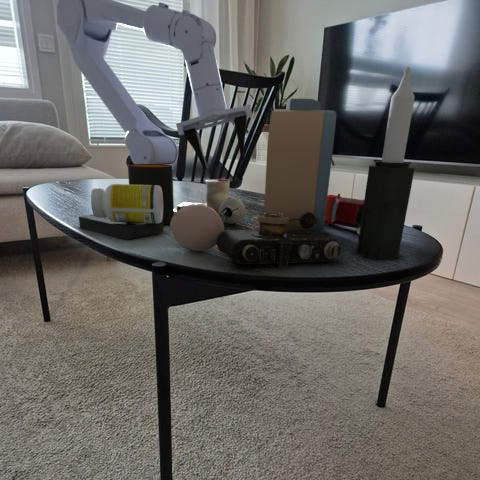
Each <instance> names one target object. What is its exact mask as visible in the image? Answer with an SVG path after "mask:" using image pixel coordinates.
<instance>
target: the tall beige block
mask: <svg viewBox="0 0 480 480" xmlns="http://www.w3.org/2000/svg"><path fill="white" fill-rule="evenodd" d="M285 105H286V106H285V109H284V108H275V109H273V110H272V111H271V114H270V119H269V125H268V135H267V147H266V148H267V149H266V166H265V185H264V186H265V187H264V203H263V205H264V206H263V214H264V213H268V212H271V213H280V214H282V215H286V216H288V217H289V220H292V219H300V217H301V215H302V214H303V213H306V212H311V213H313V214H314V216H315V218H317V224H314V226H313V227H312V228H310V229H304V228H302V226H301V225H300V222H299V220H292V221H290V222H289V223H287V224H286V229H285V230H313V231H316V232H318V233H321V234H323V235H324V231H325V224H326V223H325V214H326V205H327V196H328V195H329V187H330V178H331V168H332V160H333V149H334V142H335V133H336V122H337V112H336V111H335V110H327V109H323V110H322V109H321V102H320V101H318V99H315V98H314V99H313V98H290V99H288V100H287V101H286V104H285Z"/></svg>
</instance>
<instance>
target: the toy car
mask: <svg viewBox="0 0 480 480" xmlns="http://www.w3.org/2000/svg"><path fill="white" fill-rule="evenodd" d="M364 199H365V198H363V199H357V198H350V197H342V196H341V193H337V195H335V194H328V196H327V205H326V214H325V223H324V224H329V225H331V227H332V228H334V227H335V225H338V226H342V227H343V226H344V227H348V228H354V229H357V228H358V227H360V226H361V219H362V212H363V205H364Z"/></svg>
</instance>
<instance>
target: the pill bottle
mask: <svg viewBox="0 0 480 480" xmlns="http://www.w3.org/2000/svg"><path fill="white" fill-rule="evenodd" d="M90 207H91V211H92V215H94V216H95V217H100V218H102V217H105V216H107V217H108V219H109V220H110V221H112V222H124V223H161V222H162V219H163V194H162V188H161V187H160V186H158V185H129V183H128V184H124V183H123V184H122V183H112V184H109V185H107V187H106V188H105V189H103V188H102V187H94V188H92V190H91V193H90Z"/></svg>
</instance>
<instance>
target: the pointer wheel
mask: <svg viewBox="0 0 480 480" xmlns="http://www.w3.org/2000/svg"><path fill="white" fill-rule="evenodd" d="M228 198H230V179H225V178H217V179H206V180H205V203H206V206H209V207H220V206H221V204H222V203H223V202H224V200H226V199H228Z"/></svg>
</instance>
